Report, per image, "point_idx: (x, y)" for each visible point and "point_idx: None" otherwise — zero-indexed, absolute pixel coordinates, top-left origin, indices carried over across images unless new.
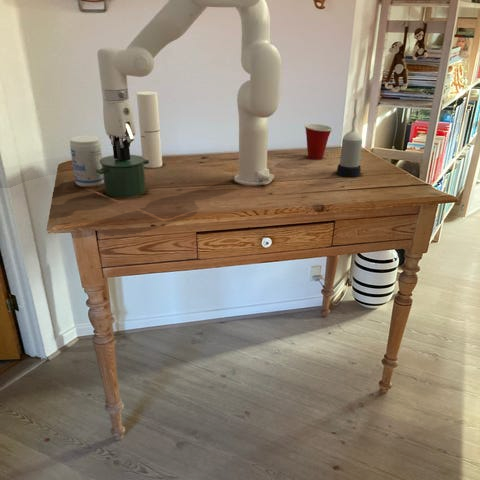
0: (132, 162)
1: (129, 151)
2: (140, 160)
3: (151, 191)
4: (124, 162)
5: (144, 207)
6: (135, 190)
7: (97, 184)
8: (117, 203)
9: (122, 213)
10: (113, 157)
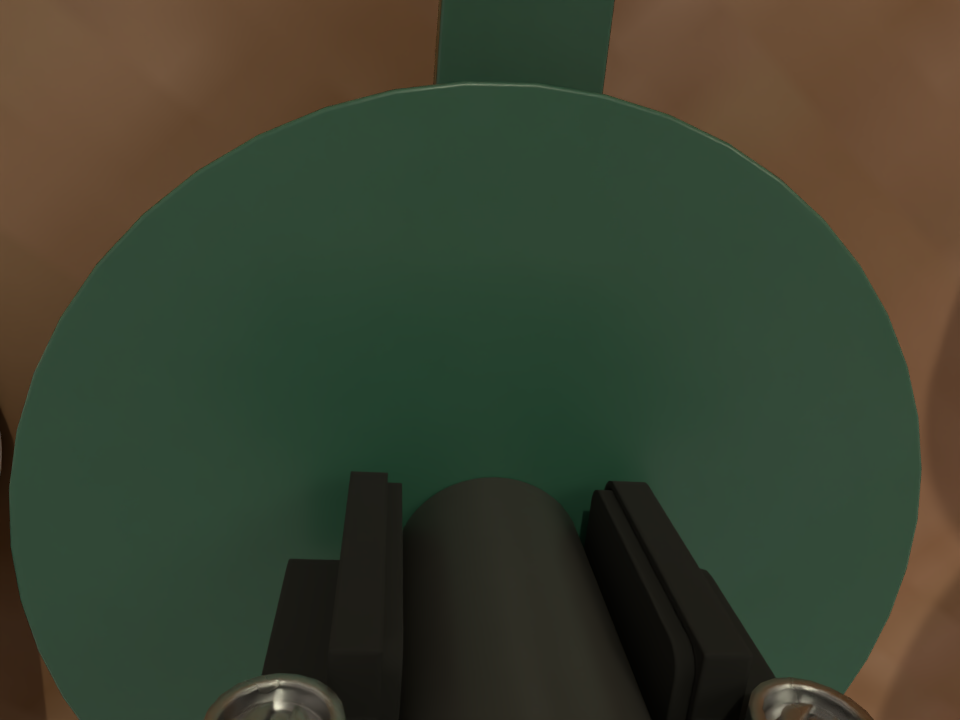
0: (782, 533)
1: (698, 572)
2: (816, 340)
3: (658, 108)
4: None
5: (941, 505)
6: None
7: (1, 449)
8: None
9: (872, 705)
10: (185, 566)
